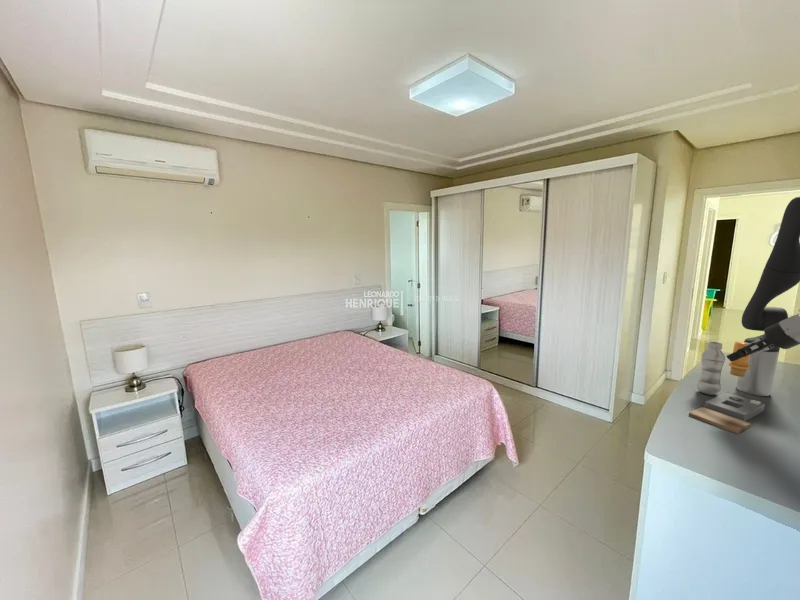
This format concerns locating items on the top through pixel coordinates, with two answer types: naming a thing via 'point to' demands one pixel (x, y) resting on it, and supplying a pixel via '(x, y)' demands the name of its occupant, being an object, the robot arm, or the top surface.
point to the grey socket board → (735, 406)
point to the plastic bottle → (711, 369)
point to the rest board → (720, 420)
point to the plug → (740, 361)
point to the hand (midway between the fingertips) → (732, 357)
